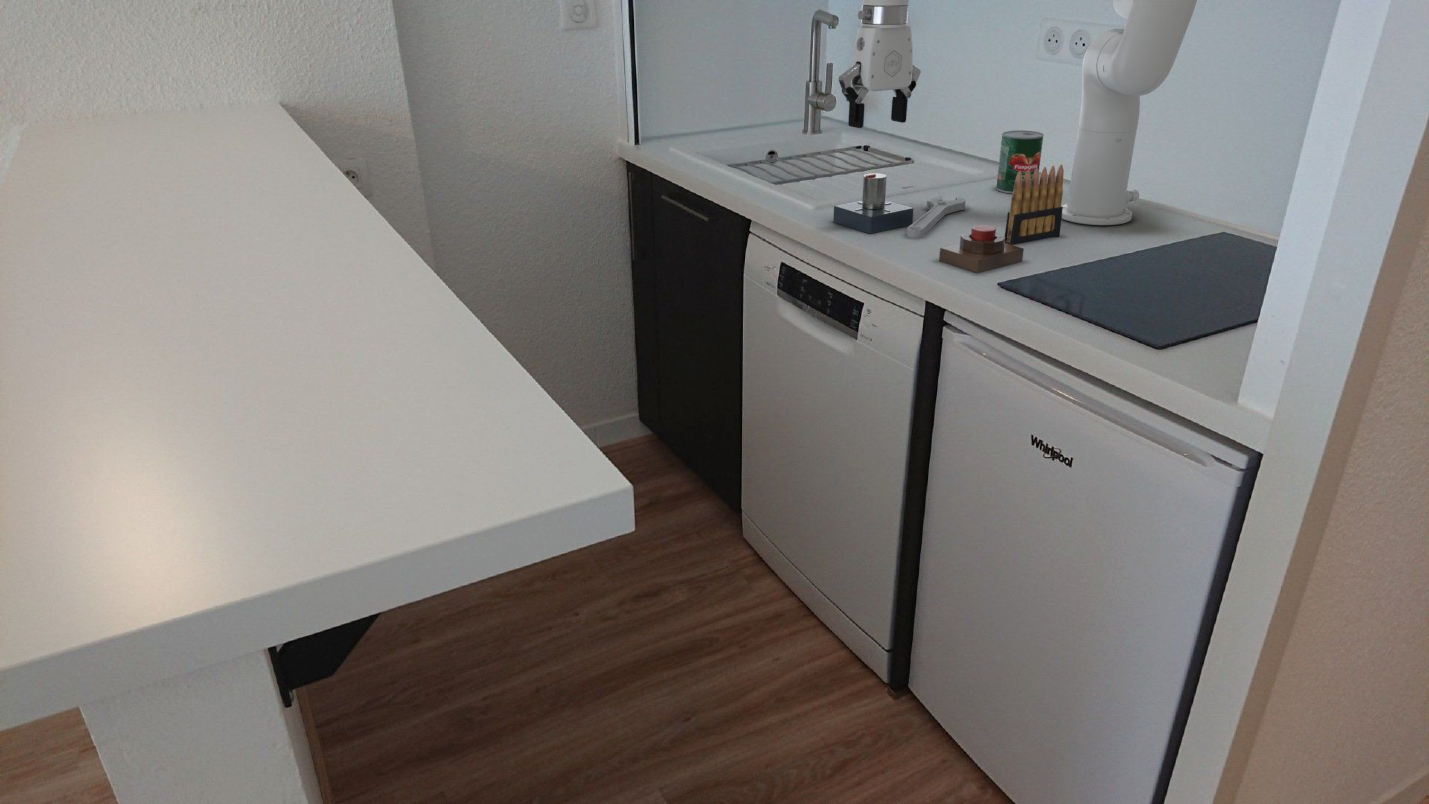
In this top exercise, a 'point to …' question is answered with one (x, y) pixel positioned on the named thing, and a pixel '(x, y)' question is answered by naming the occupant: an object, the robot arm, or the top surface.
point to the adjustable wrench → (934, 215)
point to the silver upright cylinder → (874, 191)
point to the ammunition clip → (1035, 207)
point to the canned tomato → (1018, 157)
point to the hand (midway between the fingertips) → (877, 124)
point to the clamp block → (873, 216)
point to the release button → (983, 232)
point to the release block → (981, 253)
